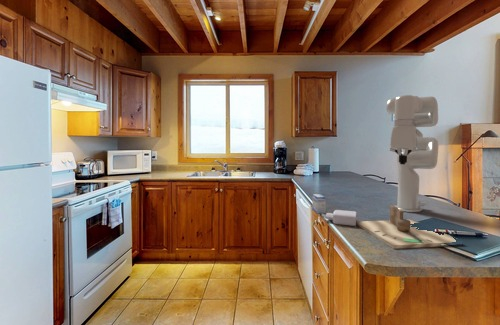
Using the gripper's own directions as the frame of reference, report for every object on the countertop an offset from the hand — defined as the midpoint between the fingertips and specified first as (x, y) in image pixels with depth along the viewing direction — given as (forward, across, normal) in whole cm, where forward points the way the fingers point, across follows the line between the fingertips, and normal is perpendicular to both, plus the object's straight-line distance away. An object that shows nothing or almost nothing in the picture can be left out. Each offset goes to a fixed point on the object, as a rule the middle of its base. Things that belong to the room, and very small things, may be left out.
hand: (402, 164), depth 117 cm
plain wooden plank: (+24, -4, +21) cm, 32 cm away
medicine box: (+26, +36, +11) cm, 46 cm away
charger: (+26, +22, +21) cm, 40 cm away
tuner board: (+25, -4, +21) cm, 33 cm away
